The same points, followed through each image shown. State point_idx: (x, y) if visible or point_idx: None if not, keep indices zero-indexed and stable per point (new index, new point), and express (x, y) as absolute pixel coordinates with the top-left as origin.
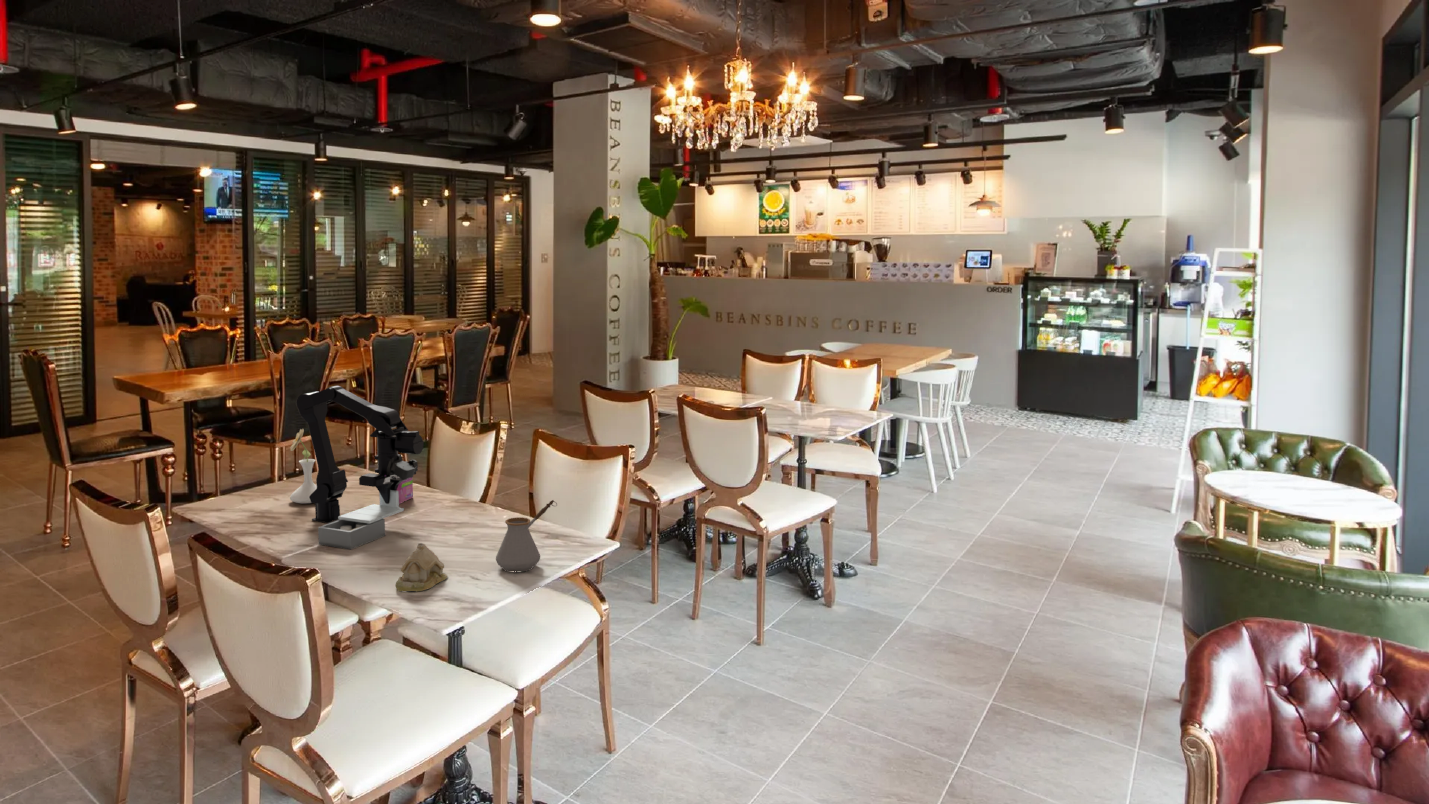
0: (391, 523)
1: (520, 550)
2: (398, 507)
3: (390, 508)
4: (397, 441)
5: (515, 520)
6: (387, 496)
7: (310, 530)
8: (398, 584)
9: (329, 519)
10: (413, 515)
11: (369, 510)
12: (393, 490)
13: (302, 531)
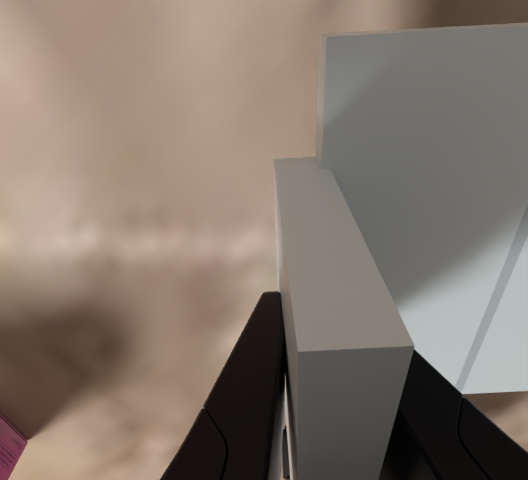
0: (239, 207)
1: None
2: (282, 167)
3: (400, 196)
4: None
5: None
6: (421, 362)
7: (486, 412)
8: None
9: None
10: (5, 210)
11: (523, 315)
12: (315, 435)
13: (504, 422)
